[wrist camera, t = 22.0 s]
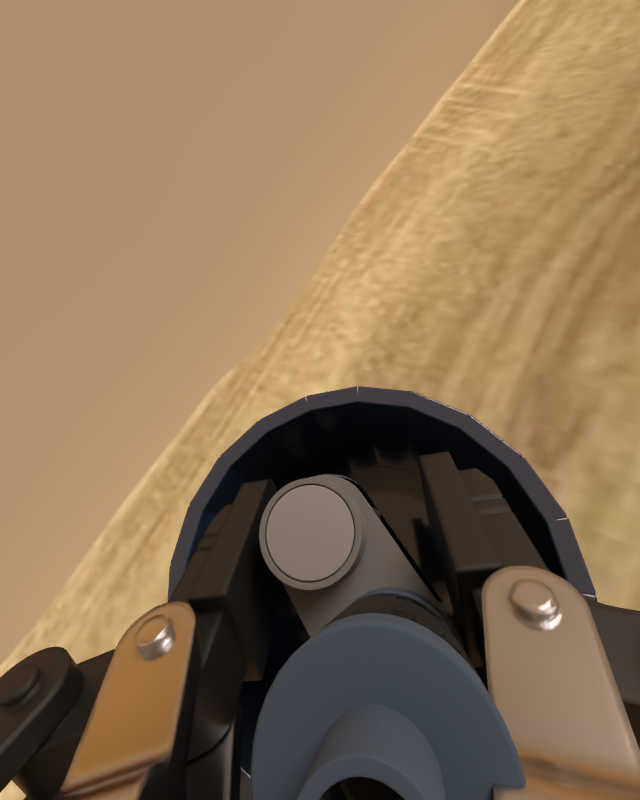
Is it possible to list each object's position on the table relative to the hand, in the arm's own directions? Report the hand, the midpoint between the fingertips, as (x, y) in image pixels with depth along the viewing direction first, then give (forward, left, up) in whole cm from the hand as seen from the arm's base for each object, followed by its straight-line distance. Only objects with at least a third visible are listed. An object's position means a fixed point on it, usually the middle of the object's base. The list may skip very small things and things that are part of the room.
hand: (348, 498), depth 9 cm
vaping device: (0, +2, -6) cm, 6 cm away
